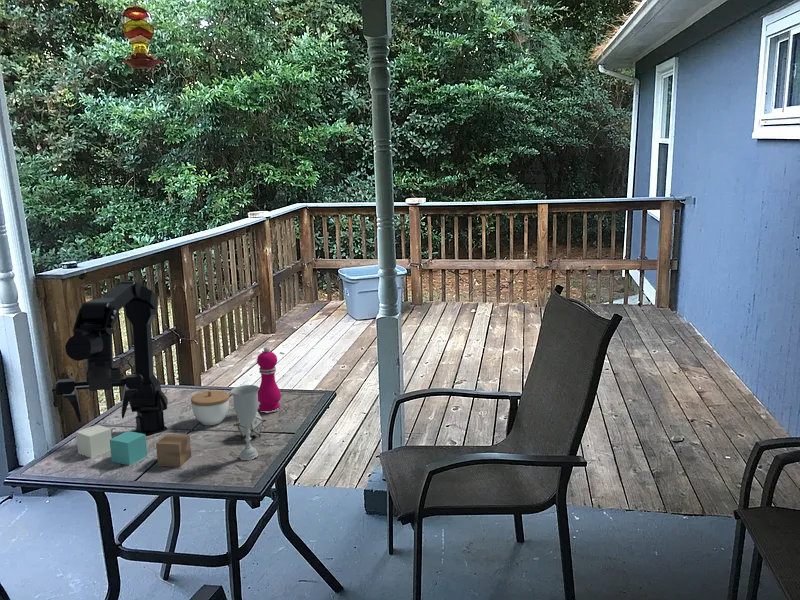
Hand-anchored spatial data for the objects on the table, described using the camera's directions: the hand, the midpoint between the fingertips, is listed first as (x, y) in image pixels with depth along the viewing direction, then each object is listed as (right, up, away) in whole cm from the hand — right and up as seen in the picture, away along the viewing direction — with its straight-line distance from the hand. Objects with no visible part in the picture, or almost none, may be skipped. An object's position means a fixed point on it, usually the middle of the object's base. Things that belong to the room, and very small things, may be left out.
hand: (101, 420), depth 156 cm
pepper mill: (+31, -5, +46) cm, 55 cm away
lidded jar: (+16, -7, +37) cm, 41 cm away
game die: (+29, -9, +26) cm, 40 cm away
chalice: (+32, -12, +12) cm, 37 cm away
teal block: (+2, -12, +12) cm, 17 cm away
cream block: (-9, -11, +17) cm, 22 cm away
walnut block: (+14, -12, +10) cm, 21 cm away
